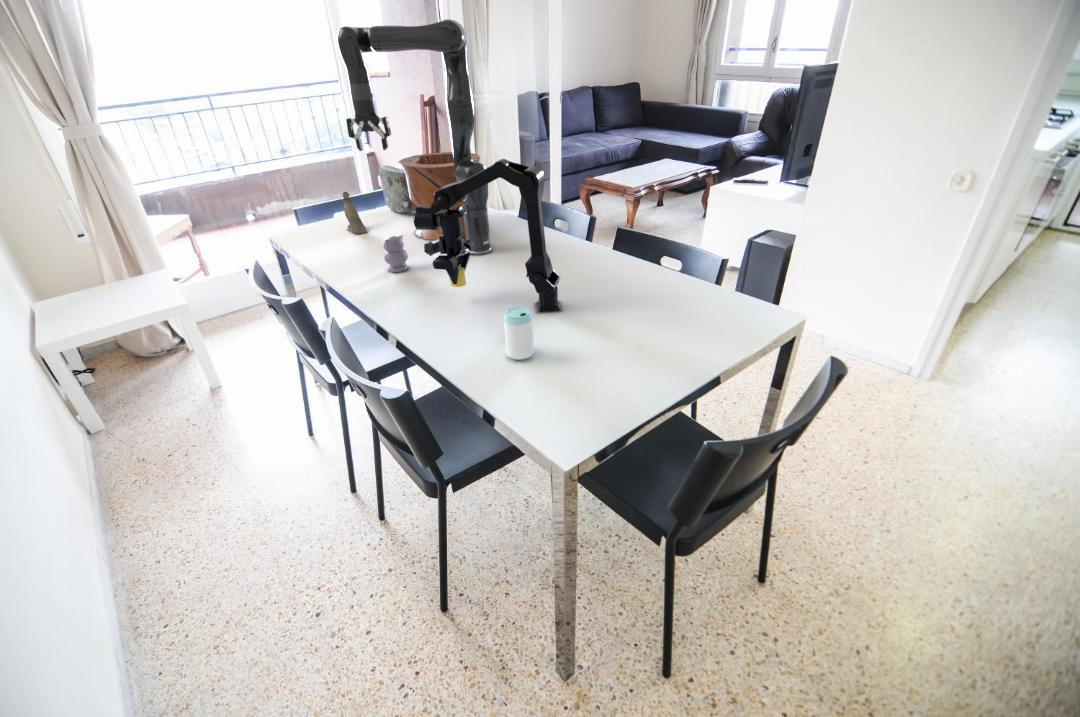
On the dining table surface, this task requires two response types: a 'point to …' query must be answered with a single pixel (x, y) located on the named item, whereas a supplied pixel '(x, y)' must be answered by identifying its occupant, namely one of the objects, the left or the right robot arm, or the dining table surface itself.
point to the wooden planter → (430, 182)
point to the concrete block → (396, 189)
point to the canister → (460, 279)
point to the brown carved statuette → (352, 216)
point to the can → (519, 333)
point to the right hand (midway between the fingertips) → (458, 280)
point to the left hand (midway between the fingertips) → (373, 150)
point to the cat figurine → (395, 253)
